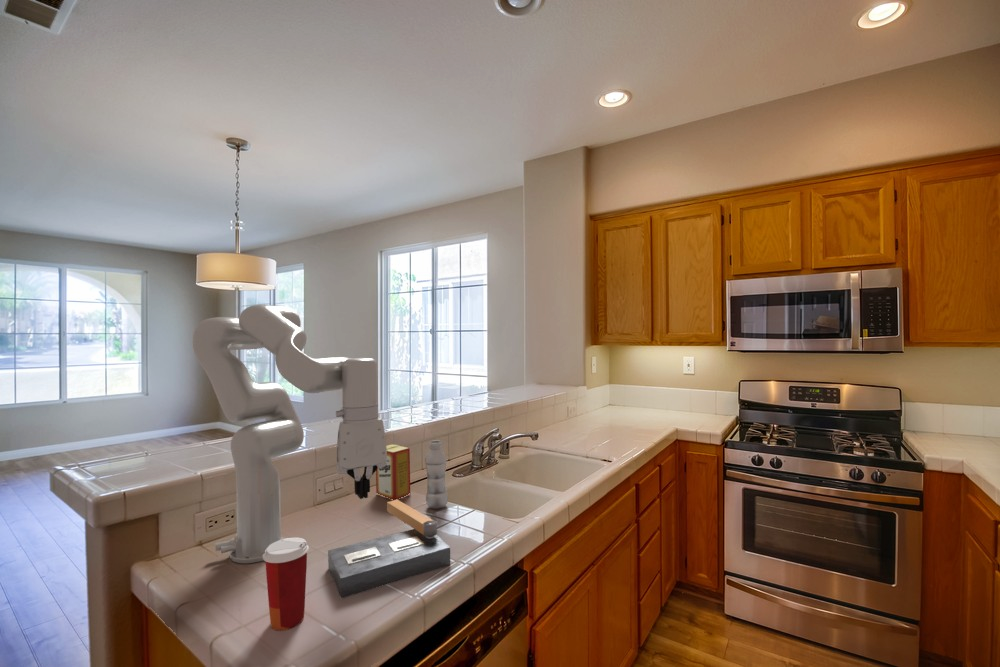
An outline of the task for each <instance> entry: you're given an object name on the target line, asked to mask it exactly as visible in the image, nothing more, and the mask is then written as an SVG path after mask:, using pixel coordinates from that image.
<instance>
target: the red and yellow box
mask: <svg viewBox="0 0 1000 667" xmlns="http://www.w3.org/2000/svg"><path fill="white" fill-rule="evenodd" d="M386 448H387V459H386V466H384V467H382V468H379V469H377V470H376V471H375V486H376V490H375V494H376V493H378V494H380V495H383V496H385V497H388V498H390V499H393V500H396V499H399V498H401V497H404V496H406V495H408V494H409V493H410V494H411V460H410V459H411V454H410V453H411V452H410V447H406V446H402V445H401V446H400V445H399V444H394V443H393V444H386ZM399 500H400V499H399Z"/></svg>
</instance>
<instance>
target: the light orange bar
mask: <svg viewBox="0 0 1000 667" xmlns="http://www.w3.org/2000/svg"><path fill="white" fill-rule="evenodd" d="M386 511H387V513H389V514H390V515H392V516H394V517H395V518H397V519H398V520H400V522H403V523H404V524H406V525H408V526H409V527H411V528H412V529H415V530H417V531H418V532H420V533H421V534H423V535H424V536H426V537H432V536H435V535H436V534H437V535H438V532H437V531H438V523H437V521H436V520H434V519H431V518H430V517H428V516H427V515H425V514H423V513H421V512H420V511H418V510H416V509H415V508H414V507H411V506H410V505H408V504H406V503H404V502H402V501H400V499H399V500H393V501H392V500H390V501H387V502H386Z"/></svg>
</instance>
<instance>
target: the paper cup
mask: <svg viewBox="0 0 1000 667" xmlns="http://www.w3.org/2000/svg"><path fill="white" fill-rule="evenodd" d="M285 538H286V537H285ZM307 543H308V542H307V541H306V539H304V538H301V537H287V538H286V539H282V540H279V541H276V542H274V543H272V544H271V545H269V546H268V547H267V549H266V550H265V553H264V554H263V559H264V562H265V574H266V575H265V576H266V584H267V585H266V586H267V596H268V597H267V598H268V600H267V602H268V609H269V620H270V622H269V623H270V627H271V629H272V630H275V631H280V632H281V631H287V630H291V629H293V628H295V627H297V626H298V625H300V624H301V623H302V622H303V620H304V619H305V606H306V584H307V568H308V566H307V564H308V562H307V561H308V552H309V550H310V546H309V545H308V544H307Z"/></svg>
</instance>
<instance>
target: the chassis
mask: <svg viewBox="0 0 1000 667" xmlns="http://www.w3.org/2000/svg"><path fill="white" fill-rule="evenodd" d="M327 563H328V564H327V565H328V566H327V567H328V570H329V573H330V575H331V577H332V580H333V582H334V584H335V587H336V589H337V591H338V594H339V596H340V599H344V598H346V597H347V598H348V597H351V596H353V595H357V594H359V593H363V592H366V591H371V590H373V589H377V588H380V587H383V586H386V585H390V584H393V583H396V582H400V581H402V580H403V581H404V580H405V579H409V578H412V577H416V576H418V575H421V574H422V575H423V574H425V573H428V572H429V573H430V572H432V571H434V570H438V569H441V568H444V567H447V566H451V547H450V545H448V544H447V543H446V542H445V541H444V540H443V539H442V538H441V537H440V536H439V535H438V533H437V534H436V535H435V536H432V537H426V536H424V535H423V534H421V533H420V532H418V531H417V530H415V529H414V528H412V529H408V530H405V531H401V532H397V533H393V534H389V535H384V536H380V537H377V538H373V539H369V540H364V541H360V542H357V543H352V544H349V545H345V546H341V547H337V548H332V549H329V550H328V551H327ZM389 583H390V584H389ZM382 585H383V586H382ZM379 586H380V587H379ZM376 587H377V588H376Z"/></svg>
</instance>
